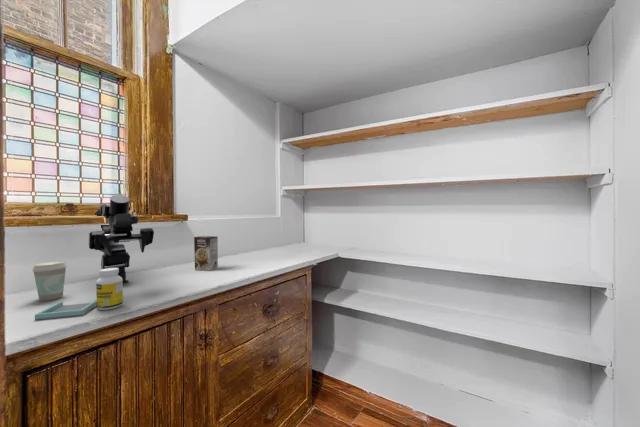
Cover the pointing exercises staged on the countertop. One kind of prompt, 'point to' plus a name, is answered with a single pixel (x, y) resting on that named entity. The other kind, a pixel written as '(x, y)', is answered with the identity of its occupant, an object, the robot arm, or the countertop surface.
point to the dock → (65, 310)
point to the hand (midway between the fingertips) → (127, 253)
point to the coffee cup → (50, 279)
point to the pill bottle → (109, 289)
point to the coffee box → (206, 253)
